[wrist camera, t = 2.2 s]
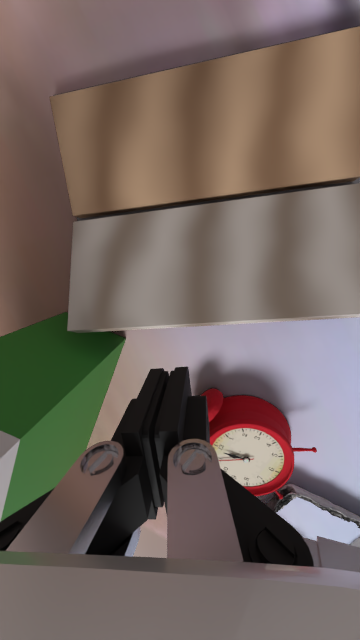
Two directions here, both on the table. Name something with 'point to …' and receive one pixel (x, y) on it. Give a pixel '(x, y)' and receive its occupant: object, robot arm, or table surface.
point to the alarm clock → (251, 441)
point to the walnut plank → (215, 128)
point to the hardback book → (48, 404)
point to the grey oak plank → (219, 263)
